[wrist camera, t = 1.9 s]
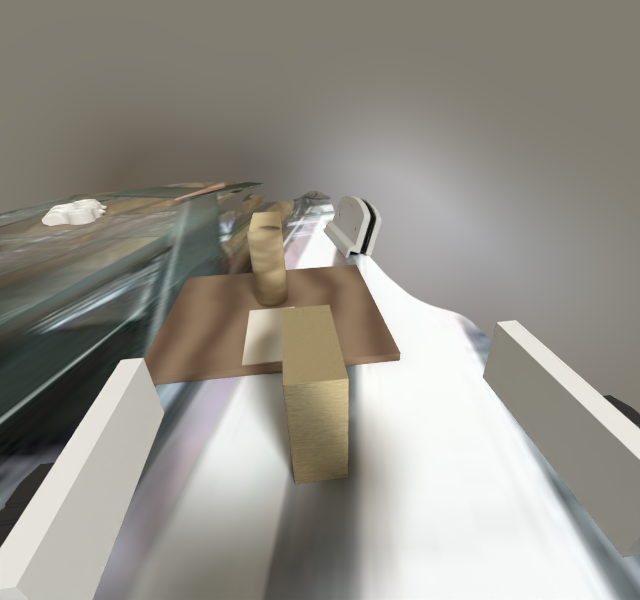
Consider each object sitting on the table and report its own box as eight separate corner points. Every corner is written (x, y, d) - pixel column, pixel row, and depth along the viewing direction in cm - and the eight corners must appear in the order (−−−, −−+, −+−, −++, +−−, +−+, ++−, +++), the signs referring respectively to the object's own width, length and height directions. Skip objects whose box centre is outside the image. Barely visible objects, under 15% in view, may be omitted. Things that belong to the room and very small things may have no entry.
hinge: (323, 231, 76) (337, 187, 72) (342, 235, 78) (357, 193, 74) (345, 258, 62) (364, 205, 58) (368, 263, 64) (388, 212, 60)
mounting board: (135, 386, 35) (97, 293, 29) (189, 283, 56) (172, 217, 50) (399, 360, 37) (409, 268, 31) (356, 270, 58) (357, 205, 52)
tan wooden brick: (295, 484, 25) (282, 385, 20) (291, 395, 33) (281, 308, 28) (347, 477, 25) (348, 378, 20) (331, 391, 33) (329, 304, 28)
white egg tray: (55, 215, 100) (110, 208, 106) (42, 231, 86) (107, 222, 92) (50, 203, 99) (106, 197, 104) (36, 218, 84) (102, 209, 90)
